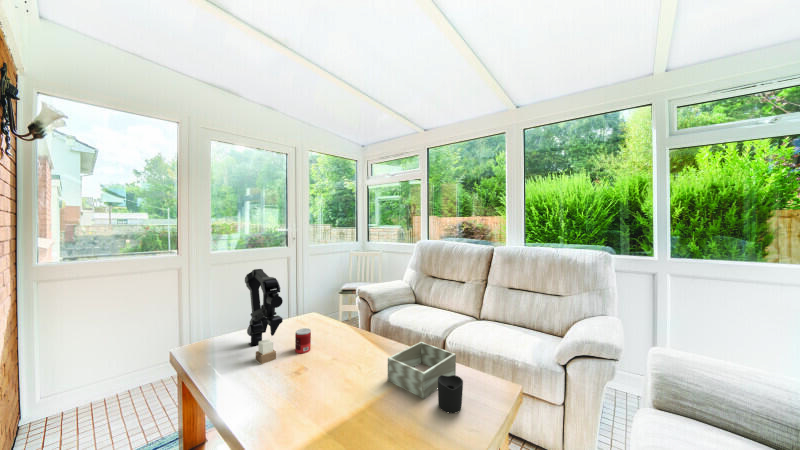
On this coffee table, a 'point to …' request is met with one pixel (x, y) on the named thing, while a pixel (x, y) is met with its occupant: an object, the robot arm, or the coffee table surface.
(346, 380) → the coffee table surface
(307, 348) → the canned food
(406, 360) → the toy crate
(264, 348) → the cream cube
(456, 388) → the pen holder
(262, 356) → the walnut base
